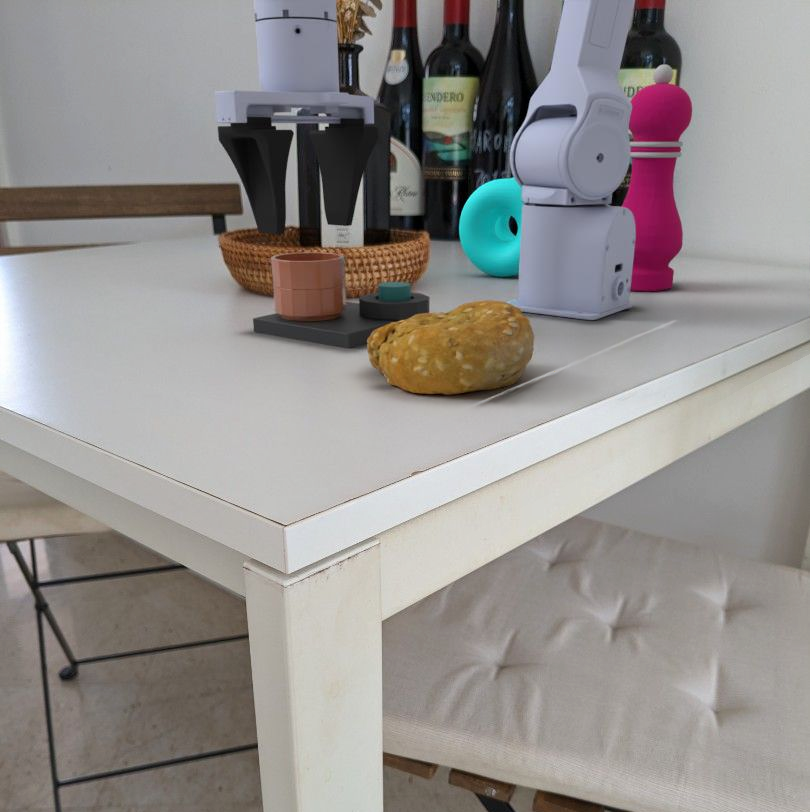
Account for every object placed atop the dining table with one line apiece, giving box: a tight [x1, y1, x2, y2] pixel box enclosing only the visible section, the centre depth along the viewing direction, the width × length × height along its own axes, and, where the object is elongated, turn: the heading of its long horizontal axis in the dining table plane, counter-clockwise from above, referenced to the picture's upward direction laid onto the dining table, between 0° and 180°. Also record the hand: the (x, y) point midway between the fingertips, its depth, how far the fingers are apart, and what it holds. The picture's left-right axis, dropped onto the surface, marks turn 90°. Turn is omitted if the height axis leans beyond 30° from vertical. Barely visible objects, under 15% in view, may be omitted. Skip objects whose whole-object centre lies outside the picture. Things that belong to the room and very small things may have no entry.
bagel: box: [366, 299, 535, 396], centre depth 54 cm, size 10×11×5 cm
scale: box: [252, 291, 430, 350], centre depth 68 cm, size 11×11×2 cm
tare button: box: [377, 281, 412, 301], centre depth 68 cm, size 3×3×1 cm
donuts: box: [458, 176, 526, 278], centre depth 95 cm, size 10×10×10 cm
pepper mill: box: [621, 64, 693, 292], centre depth 84 cm, size 7×7×20 cm
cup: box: [270, 251, 347, 321], centre depth 67 cm, size 6×6×4 cm
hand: (306, 229), depth 66 cm, fingers open, 7 cm apart
